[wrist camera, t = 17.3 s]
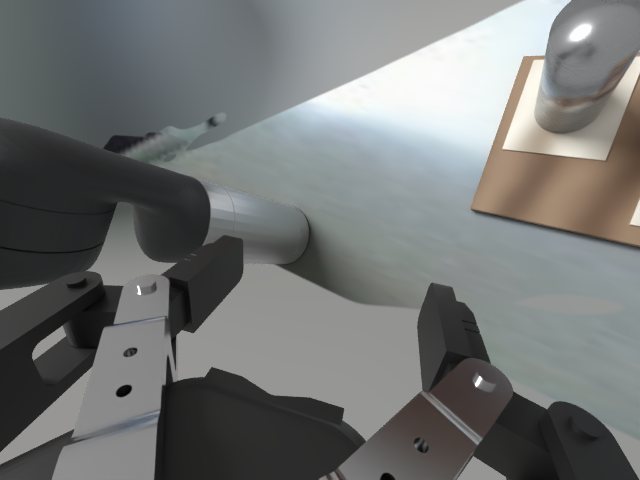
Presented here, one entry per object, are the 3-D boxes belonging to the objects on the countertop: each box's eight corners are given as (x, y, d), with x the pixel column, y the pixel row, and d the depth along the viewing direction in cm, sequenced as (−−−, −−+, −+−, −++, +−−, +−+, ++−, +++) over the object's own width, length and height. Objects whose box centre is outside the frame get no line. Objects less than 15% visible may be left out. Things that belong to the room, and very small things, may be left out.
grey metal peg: (526, 130, 29) (537, 65, 19) (544, 80, 28) (565, -13, 19) (592, 136, 26) (641, 63, 17) (613, 80, 25) (676, -28, 16)
